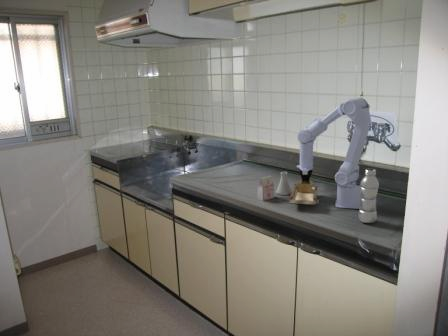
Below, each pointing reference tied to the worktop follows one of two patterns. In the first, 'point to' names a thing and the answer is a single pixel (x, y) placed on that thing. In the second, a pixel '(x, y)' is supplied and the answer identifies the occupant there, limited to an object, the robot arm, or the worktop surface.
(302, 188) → the bronze weight
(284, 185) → the flask
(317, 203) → the beam stand
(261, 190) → the pink and white carton
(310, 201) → the small cardboard box
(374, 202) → the plastic bottle
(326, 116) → the robot arm
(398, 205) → the worktop surface
